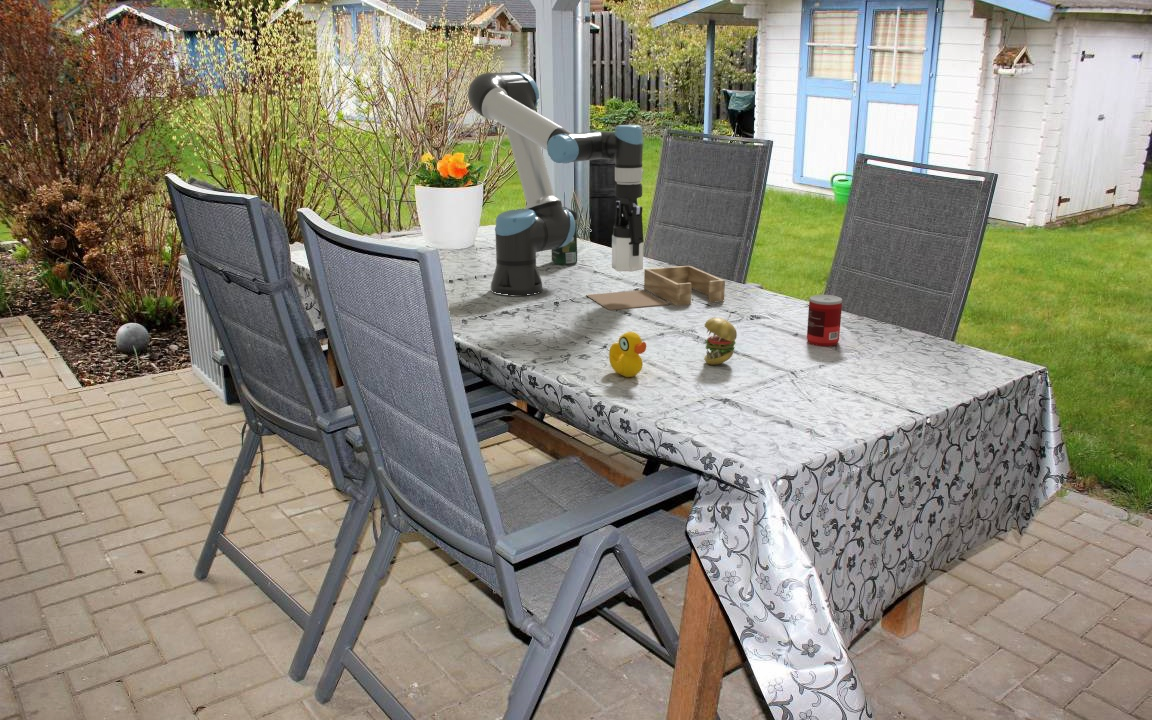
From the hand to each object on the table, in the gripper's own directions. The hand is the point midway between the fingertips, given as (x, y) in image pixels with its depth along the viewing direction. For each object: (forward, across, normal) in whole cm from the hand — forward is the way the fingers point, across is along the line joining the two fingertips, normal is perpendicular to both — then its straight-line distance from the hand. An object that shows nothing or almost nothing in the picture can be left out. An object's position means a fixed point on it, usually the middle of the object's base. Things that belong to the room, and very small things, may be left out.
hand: (628, 264), depth 281 cm
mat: (+10, 0, 0) cm, 10 cm away
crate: (+11, +1, -18) cm, 21 cm away
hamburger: (+11, -63, +4) cm, 64 cm away
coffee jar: (+10, +56, -1) cm, 57 cm away
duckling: (+11, -64, +27) cm, 70 cm away
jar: (+2, 0, 0) cm, 2 cm away
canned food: (+11, -56, -28) cm, 63 cm away
